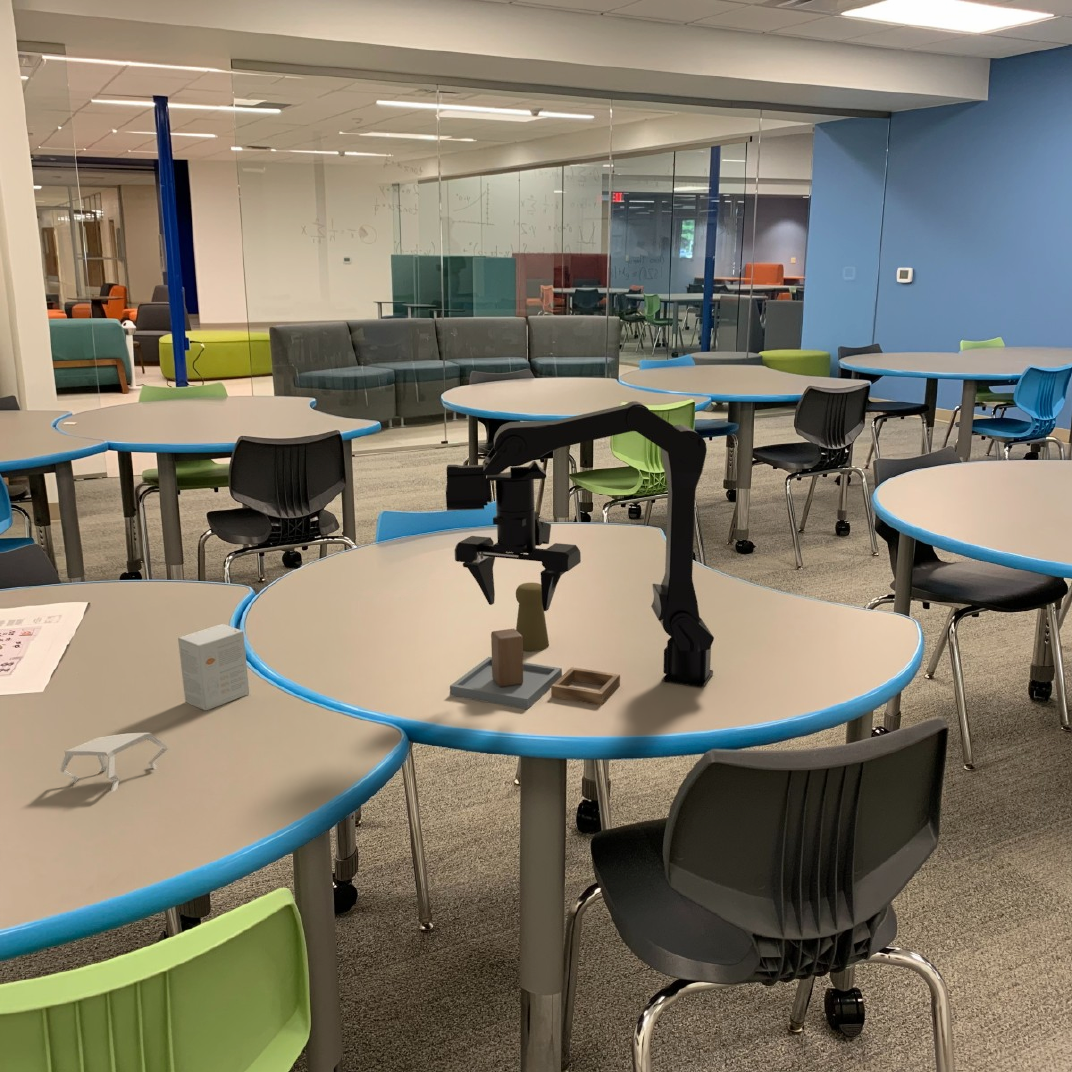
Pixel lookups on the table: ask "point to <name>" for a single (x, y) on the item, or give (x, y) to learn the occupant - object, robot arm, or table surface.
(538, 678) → the slate tray
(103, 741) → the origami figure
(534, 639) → the olive pawn piece
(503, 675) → the wooden block
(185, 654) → the small box
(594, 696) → the walnut collar
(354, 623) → the table surface
